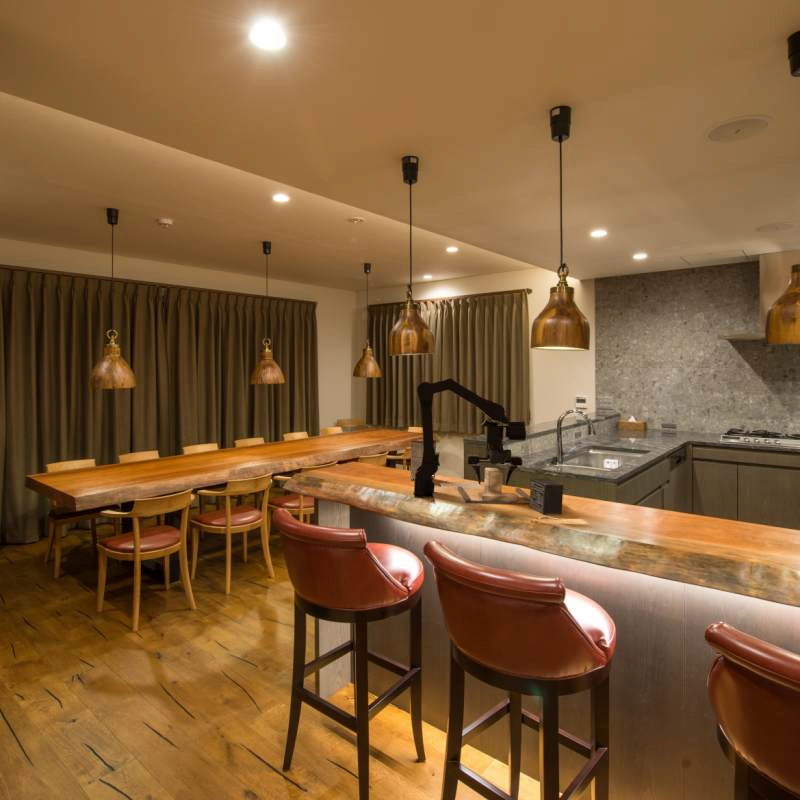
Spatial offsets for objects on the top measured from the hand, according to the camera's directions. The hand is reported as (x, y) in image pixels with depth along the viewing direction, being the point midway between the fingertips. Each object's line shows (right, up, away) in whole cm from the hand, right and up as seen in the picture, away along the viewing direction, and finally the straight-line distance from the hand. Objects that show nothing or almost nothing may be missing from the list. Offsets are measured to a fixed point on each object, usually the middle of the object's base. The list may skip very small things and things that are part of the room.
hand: (492, 484), depth 179 cm
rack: (0, -5, -3) cm, 6 cm away
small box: (+12, -6, -21) cm, 25 cm away
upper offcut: (0, -4, -9) cm, 10 cm away
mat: (-8, -4, +17) cm, 19 cm away
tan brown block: (0, -5, 0) cm, 5 cm away
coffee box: (-23, -3, +34) cm, 41 cm away
